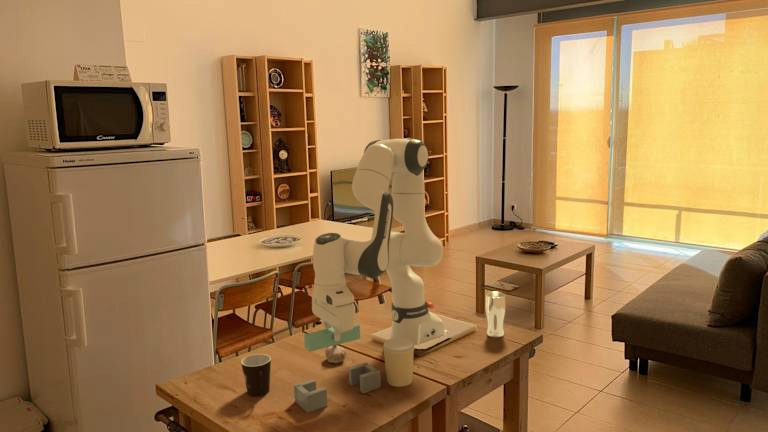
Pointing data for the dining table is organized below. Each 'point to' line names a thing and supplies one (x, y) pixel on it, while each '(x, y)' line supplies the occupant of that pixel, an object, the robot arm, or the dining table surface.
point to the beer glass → (495, 313)
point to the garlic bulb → (335, 354)
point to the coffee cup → (399, 361)
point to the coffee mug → (257, 374)
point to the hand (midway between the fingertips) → (332, 337)
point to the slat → (329, 338)
